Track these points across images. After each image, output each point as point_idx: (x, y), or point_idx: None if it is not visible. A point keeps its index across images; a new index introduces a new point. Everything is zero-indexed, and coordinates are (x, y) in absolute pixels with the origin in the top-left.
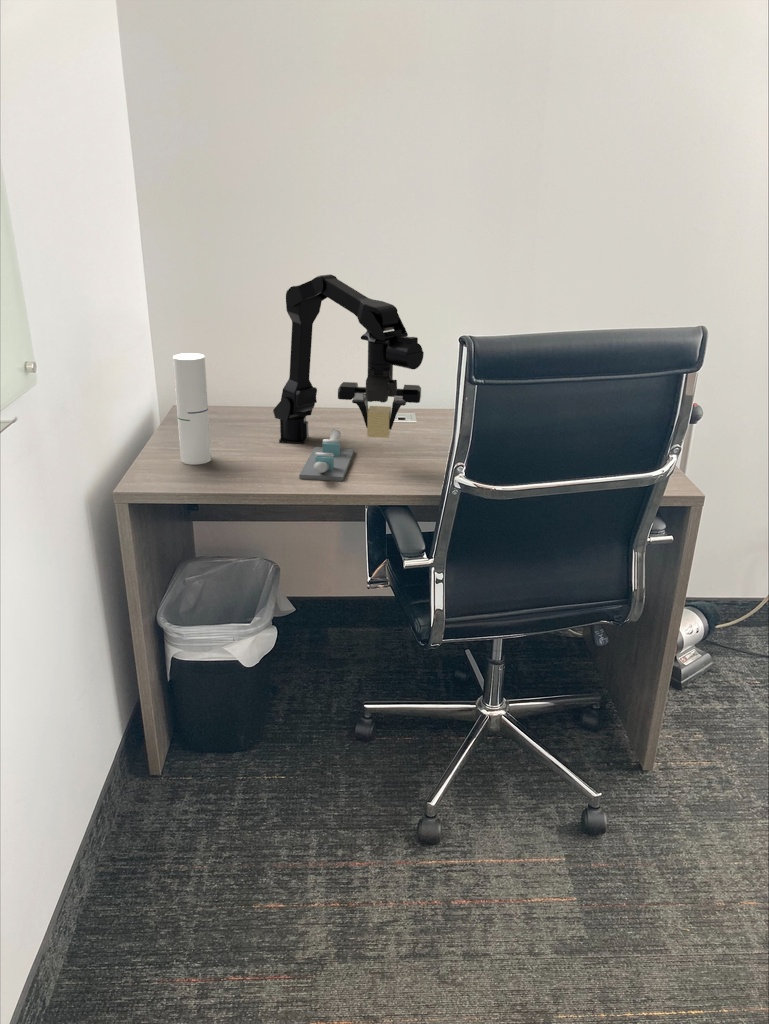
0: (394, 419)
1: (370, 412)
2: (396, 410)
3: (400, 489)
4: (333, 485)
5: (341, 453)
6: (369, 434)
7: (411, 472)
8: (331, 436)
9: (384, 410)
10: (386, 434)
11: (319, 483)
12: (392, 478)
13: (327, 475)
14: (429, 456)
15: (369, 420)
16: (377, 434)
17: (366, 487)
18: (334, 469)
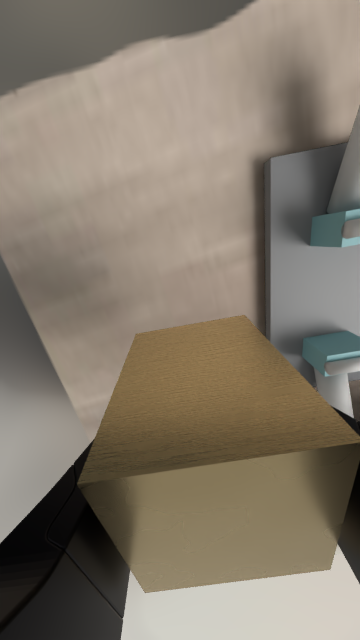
0: (91, 443)
1: (315, 438)
2: (12, 546)
3: (62, 148)
4: (289, 103)
5: (298, 358)
6: (236, 321)
7: (94, 309)
8: (351, 407)
9: (165, 520)
10: (145, 339)
11: (340, 107)
12: (124, 246)
13: (325, 153)
14: (99, 415)
15: (275, 369)
16: (193, 329)
17: (175, 125)
18: (306, 227)
